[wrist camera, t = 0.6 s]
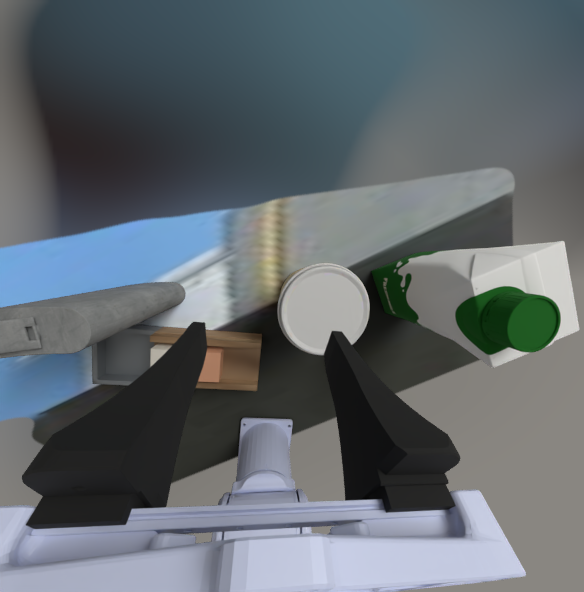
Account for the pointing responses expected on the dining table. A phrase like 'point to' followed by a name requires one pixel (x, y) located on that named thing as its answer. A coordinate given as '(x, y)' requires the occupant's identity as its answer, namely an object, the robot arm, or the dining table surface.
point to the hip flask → (81, 318)
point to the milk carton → (485, 297)
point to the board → (225, 356)
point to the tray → (123, 356)
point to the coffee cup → (322, 306)
